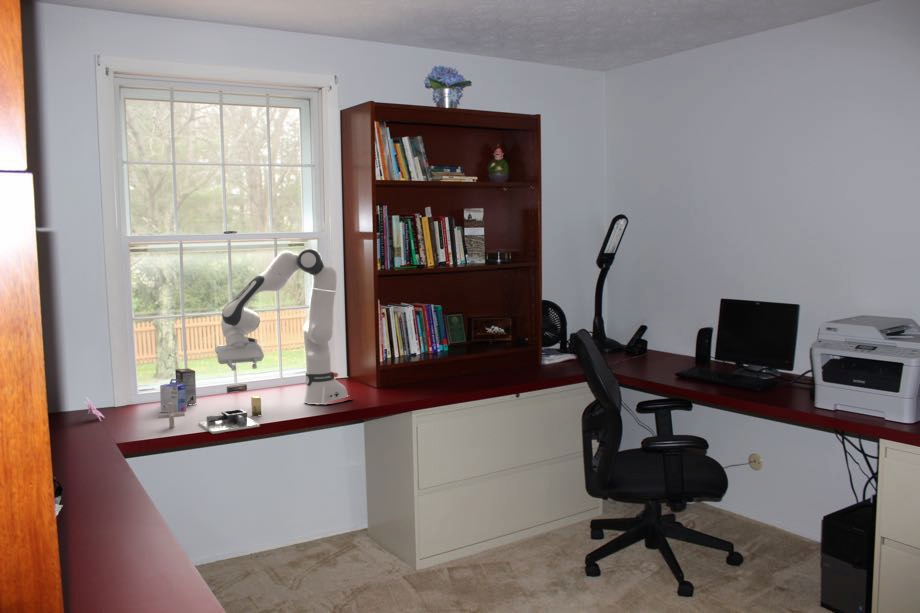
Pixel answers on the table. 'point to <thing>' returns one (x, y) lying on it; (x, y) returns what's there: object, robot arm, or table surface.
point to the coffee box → (187, 384)
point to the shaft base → (228, 422)
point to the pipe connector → (171, 415)
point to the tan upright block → (256, 405)
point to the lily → (93, 410)
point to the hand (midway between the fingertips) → (244, 368)
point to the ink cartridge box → (173, 396)
